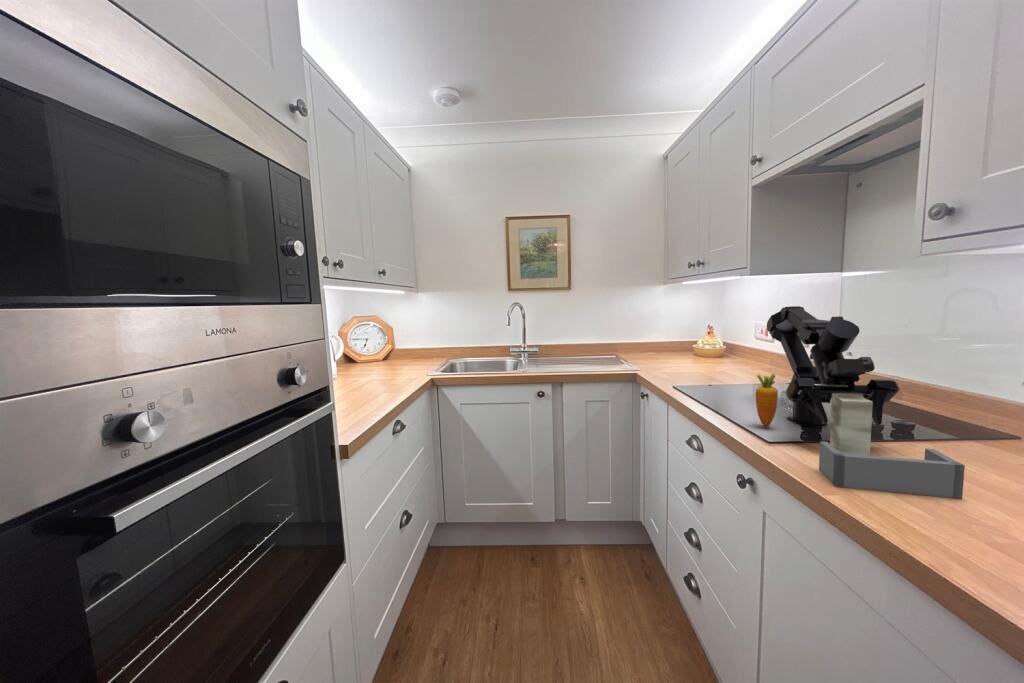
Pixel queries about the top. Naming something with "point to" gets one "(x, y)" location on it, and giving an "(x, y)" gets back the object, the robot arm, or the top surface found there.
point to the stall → (894, 472)
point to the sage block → (851, 424)
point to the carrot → (766, 400)
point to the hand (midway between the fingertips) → (852, 423)
